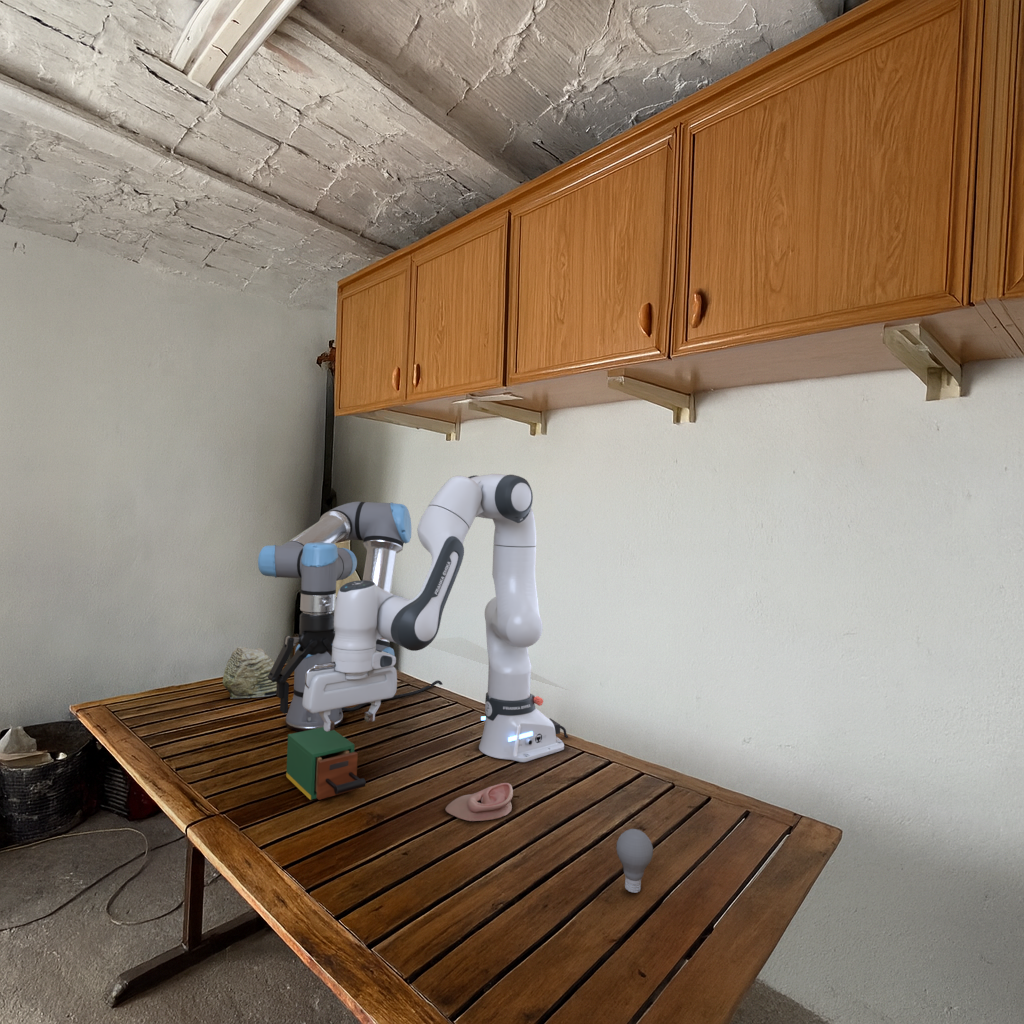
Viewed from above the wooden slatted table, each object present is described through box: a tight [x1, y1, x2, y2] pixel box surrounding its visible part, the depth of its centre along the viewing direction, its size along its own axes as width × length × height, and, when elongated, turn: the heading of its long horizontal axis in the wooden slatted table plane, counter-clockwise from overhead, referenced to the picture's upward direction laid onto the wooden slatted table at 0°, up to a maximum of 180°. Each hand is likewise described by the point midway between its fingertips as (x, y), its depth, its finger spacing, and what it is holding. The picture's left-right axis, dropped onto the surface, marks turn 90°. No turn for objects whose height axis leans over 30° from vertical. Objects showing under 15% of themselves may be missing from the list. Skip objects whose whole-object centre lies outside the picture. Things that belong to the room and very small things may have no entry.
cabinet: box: [285, 727, 356, 801], centre depth 140 cm, size 14×10×10 cm
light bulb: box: [615, 828, 654, 894], centre depth 106 cm, size 6×6×10 cm
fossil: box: [222, 646, 277, 699], centre depth 198 cm, size 9×18×15 cm, turn 132°
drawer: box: [314, 750, 367, 801], centre depth 135 cm, size 18×8×8 cm, turn 40°
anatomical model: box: [444, 782, 514, 822], centre depth 131 cm, size 13×4×12 cm
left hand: (314, 706), depth 142 cm, fingers open, 13 cm apart
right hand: (349, 725), depth 132 cm, fingers open, 8 cm apart
